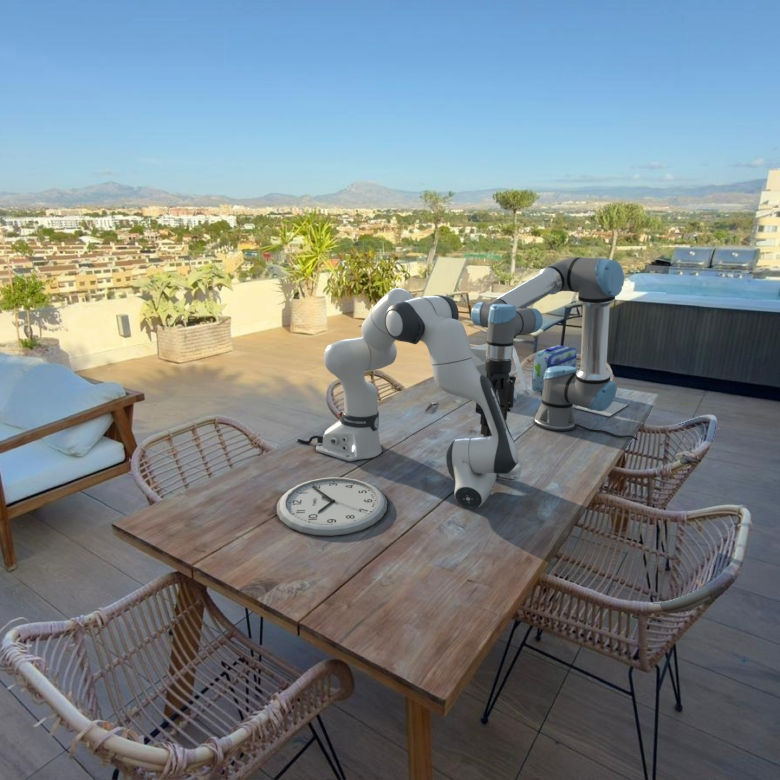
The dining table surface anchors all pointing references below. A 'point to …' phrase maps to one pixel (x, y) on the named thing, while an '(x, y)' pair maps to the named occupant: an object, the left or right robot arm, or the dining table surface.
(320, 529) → the wall clock
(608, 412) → the invitation card
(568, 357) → the lunch box
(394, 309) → the left robot arm
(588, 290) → the right robot arm
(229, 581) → the dining table surface
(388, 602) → the dining table surface
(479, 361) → the white plastic object
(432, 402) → the fork
